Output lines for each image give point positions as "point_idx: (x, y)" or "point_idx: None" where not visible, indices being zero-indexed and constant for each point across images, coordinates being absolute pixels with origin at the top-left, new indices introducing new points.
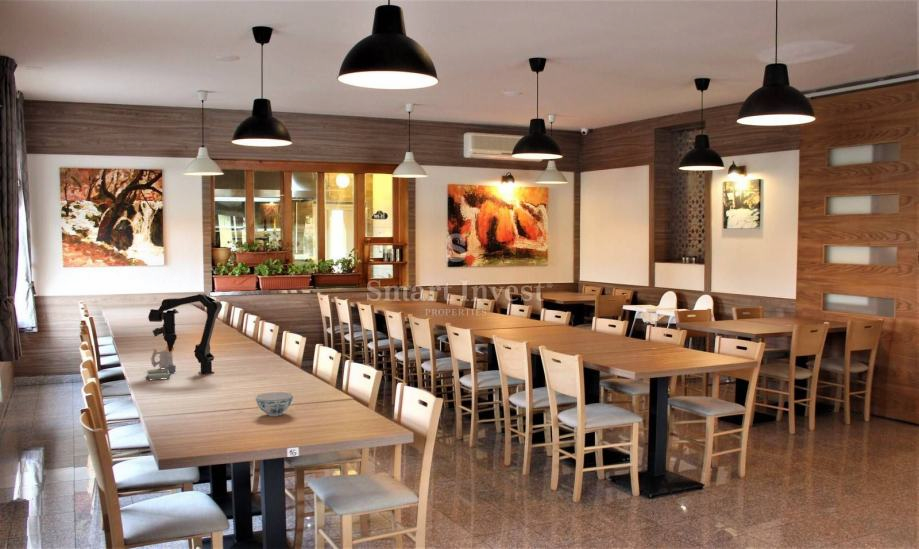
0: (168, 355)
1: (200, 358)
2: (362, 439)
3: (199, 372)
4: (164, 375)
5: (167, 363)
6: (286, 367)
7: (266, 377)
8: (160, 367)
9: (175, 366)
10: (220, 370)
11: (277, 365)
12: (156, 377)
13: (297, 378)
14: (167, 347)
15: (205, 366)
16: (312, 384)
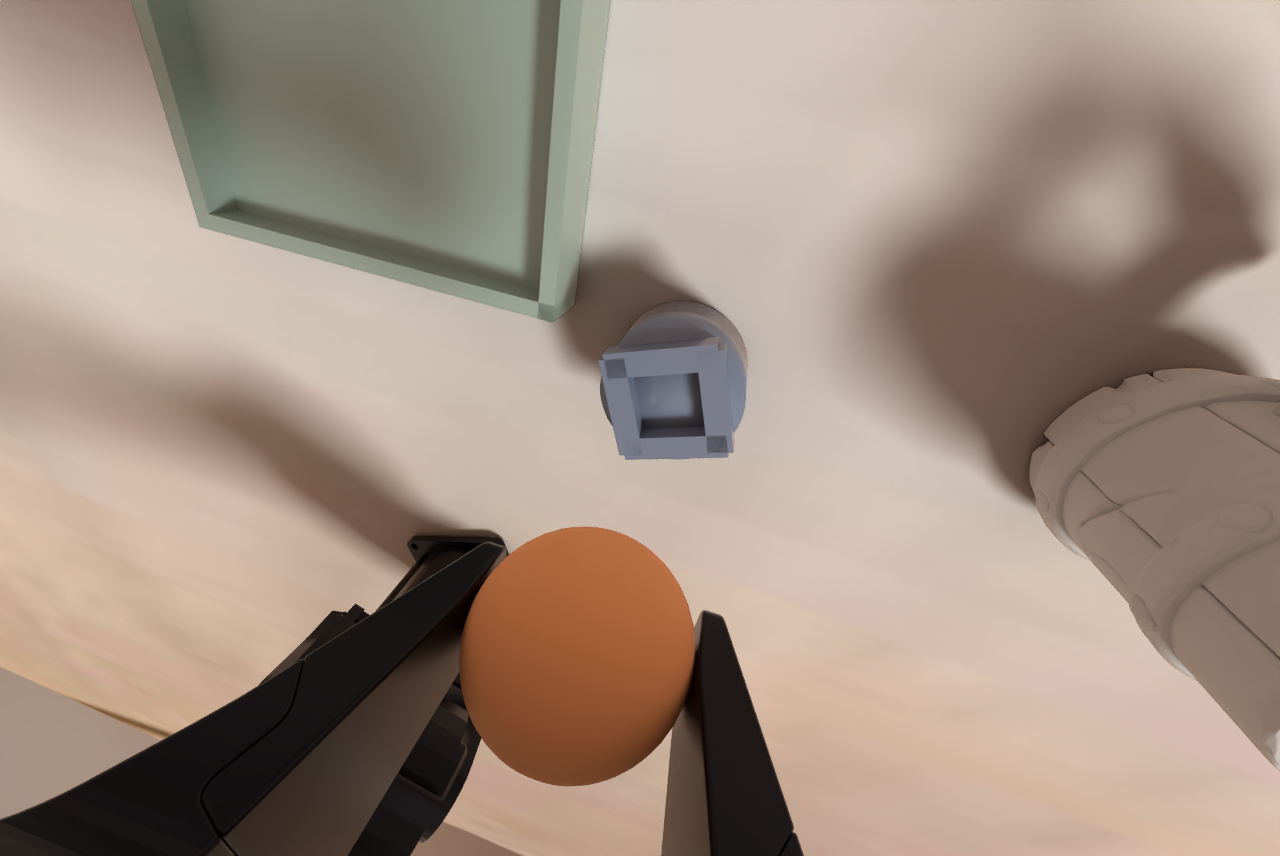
0: (1188, 619)
1: (294, 650)
2: None
3: (473, 544)
4: (189, 151)
5: (1089, 490)
6: (479, 822)
7: (226, 672)
8: (1188, 378)
9: (622, 448)
10: None
11: (558, 840)
12: (172, 20)
13: (187, 710)
14: (483, 622)
15: (383, 605)
16: (57, 673)
